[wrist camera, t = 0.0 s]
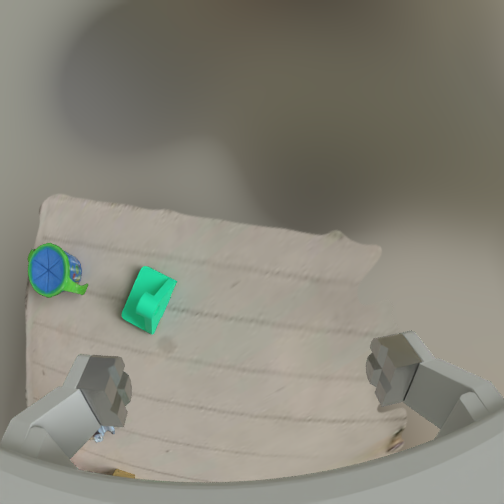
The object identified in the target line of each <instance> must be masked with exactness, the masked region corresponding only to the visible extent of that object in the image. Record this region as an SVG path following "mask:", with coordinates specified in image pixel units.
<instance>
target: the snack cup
mask: <svg viewBox="0 0 504 504" xmlns="http://www.w3.org/2000/svg"><path fill="white" fill-rule="evenodd" d="M28 262H29V265H28V276H29V280H30V283H31V285H32V287H33V288H34V290H35V291H36V292H37V293H39V294H40V295H42V296H46V297H52V296H56V295H58V294H59V293H61V292H63V291H68V292H72V293H77V294H81V295H83V294H84V293H85V292H86V289H87V287H88V284H85V285H83V286H80V285H78V283H79V281H80V279H81V274H82V269H81V264H80V262H79V261H78V260H77V259H76V258H75V257H74V256H72V255H70V254H69V253H67V252H65V251H63V250H62V248H60V247H59V246H57V245H54V244H51V243H47V244H43V245H41V246H39V247H38V248H37V249H32V250H31V251H30V254H29V256H28Z"/></svg>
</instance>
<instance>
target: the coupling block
mask: <svg viewBox="0 0 504 504" xmlns="http://www.w3.org/2000/svg"><path fill="white" fill-rule="evenodd" d="M112 476H119V477H126V478H134V479H135V475H134V474H131V473H128V472H125V471H122V470H119V469H116V470H115V472H114V473H113V475H112Z"/></svg>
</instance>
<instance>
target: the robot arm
mask: <svg viewBox="0 0 504 504" xmlns="http://www.w3.org/2000/svg"><path fill="white" fill-rule="evenodd" d="M370 349H371V351H372V353H371V354H370V355H369V356H368V358H367V362H366V374H367V378H368V380H369V382H370V384H372V385H374V386H375V387H376V390H375V394H376V396H377V398H378V400H379V402H380V404H381V406H387V405H391V404H395V403H400V402H404V403H405V404H406V405H407V406H409V407H411V409H413V410H414V411H416V412H417V413H419V414H420V415H421V416H423V417H424V418H426V419H427V420H428V421H430V422H431V423H433V424H434V425H435V426H437V427H438V428H440V431H439V432H438V434H437V436H436V437H435V438H434V440H432V441H429V442H426V443H424V444H421V445H418V446H415V447H413V448H410V449H407V450H404V451H401V452H398V453H394V454H391V455H388V456H385V457H381V458H378V459H374V460H370V461H367V462H363V463H359V464H355V465H351V466H346V467H342V468H337V469H333V470H328V471H322V472H317V473H311V474H305V475H298V476H291V477H284V478H275V479H266V480H254V481H239V482H170V481H155V480H144V479H134V478H126V477H119V476H112V475H106V474H100V473H94V472H89V471H84V470H79V469H78V468H77V467H76V466H75V465H74V464H73V463H72V462H71V460H70V459H71V458H72V457H73V455H74V454H75V453H76V452H77V451H78V450H79V449H80V448H81V447H82V446H83V445H84V444H85V443H86V442H87V441H88V440H89V439H90V438H91V437H92V436H93V435H94V434H95V432H96V431H97V430H98V429H99V428H100V427H101V426H113V427H124V424H125V420H126V416H127V410H126V407H125V406H126V405H127V404H128V403H129V402H130V401H131V396H132V385H131V380H130V378H129V375H128V374H126V373H125V372H124V371H123V370H124V367H125V364H124V362H123V360H122V358H121V357H118V356H101V355H84V354H80V355H78V356H77V358H76V360H75V362H74V364H73V366H72V368H71V370H70V372H69V374H68V376H67V378H66V380H65V382H64V384H63V386H62V387H59V386H58V387H57V388H56V389H54V390H53V391H51V392H50V393H48V394H47V395H45V396H44V397H43V398H41V399H40V400H38V401H37V402H35V403H34V404H32V405H31V406H30V407H28V408H27V409H25V410H24V411H22V412H21V413H19V414H18V415H17V416H15V417H14V418H12V419H11V421H10V423H9V425H8V427H7V429H6V431H5V434H4V435H3V438H2V440H1V442H0V504H504V398H503V397H502V395H501V394H500V393H499V392H498V390H497V389H496V388H495V386H494V385H493V384H492V382H491V381H488V380H486V379H484V378H481V377H479V376H477V375H475V374H473V373H470V372H468V371H466V370H464V369H462V368H460V367H458V366H455V365H453V364H451V363H449V362H447V361H444V360H442V359H440V358H437V359H435V357H434V356H433V355H432V353H431V352H430V351H429V349H428V348H427V347H426V346H425V345H424V343H423V342H422V341H421V339H420V338H419V337H418V335H417V334H416V333H415V332H414V331H407V332H403V333H399V334H394V335H389V336H383V337H378V338H373V340H372V342H371V345H370ZM100 425H101V426H100Z"/></svg>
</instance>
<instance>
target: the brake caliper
mask: <svg viewBox="0 0 504 504" xmlns="http://www.w3.org/2000/svg"><path fill="white" fill-rule="evenodd" d="M100 426H101V425H100ZM108 430H109V431H110V432H111V433H112V434H114V433H115V429H114V427H113V426H101V427H100V428H99V429H98V430H97V431H96V432H95V434H94V435H93V436H92V437H91V438H90V439H89V440H95V442H96V443H97V442H101V441H103V436H104V433H105V432H106V431H108Z"/></svg>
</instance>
